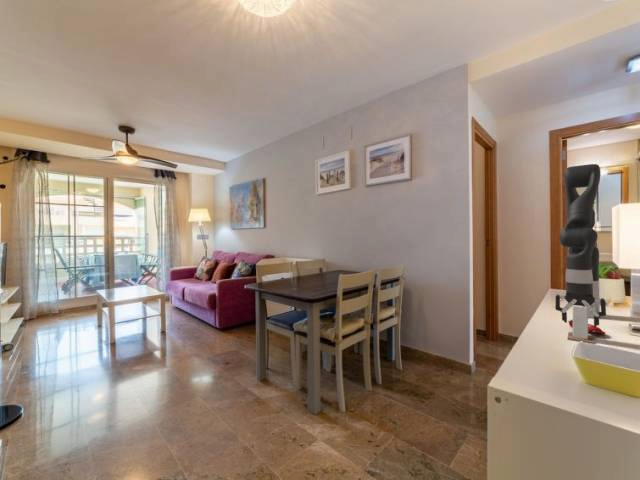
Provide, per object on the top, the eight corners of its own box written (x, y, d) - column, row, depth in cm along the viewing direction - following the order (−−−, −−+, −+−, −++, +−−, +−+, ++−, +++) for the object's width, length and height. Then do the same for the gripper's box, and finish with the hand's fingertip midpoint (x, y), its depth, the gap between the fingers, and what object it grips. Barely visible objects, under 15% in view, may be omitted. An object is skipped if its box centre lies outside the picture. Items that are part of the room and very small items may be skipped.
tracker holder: (609, 331, 110) (603, 328, 105) (605, 341, 110) (599, 339, 105) (570, 317, 120) (563, 314, 115) (566, 327, 120) (559, 324, 115)
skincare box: (573, 333, 110) (571, 302, 110) (589, 335, 107) (587, 303, 107) (572, 337, 106) (571, 305, 106) (589, 340, 102) (587, 307, 103)
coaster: (568, 333, 112) (568, 331, 112) (593, 337, 107) (593, 335, 107) (567, 339, 105) (567, 337, 105) (593, 344, 101) (593, 342, 101)
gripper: (605, 281, 104) (606, 325, 104) (555, 278, 114) (556, 318, 114) (606, 284, 99) (607, 330, 99) (553, 280, 108) (554, 323, 108)
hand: (580, 324), depth 106 cm, fingers open, 8 cm apart
